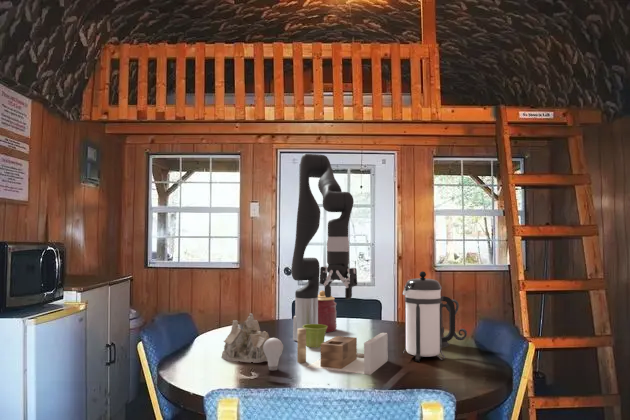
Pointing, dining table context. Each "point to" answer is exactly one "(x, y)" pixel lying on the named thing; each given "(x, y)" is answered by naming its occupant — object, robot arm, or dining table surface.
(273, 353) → the lightbulb
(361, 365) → the l-shaped bookend
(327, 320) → the canister
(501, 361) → the dining table surface
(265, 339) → the ceramic cottage
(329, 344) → the wooden square-hole block
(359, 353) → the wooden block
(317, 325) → the plant pot
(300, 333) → the dowel
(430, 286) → the coffee press
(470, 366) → the dining table surface
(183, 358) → the dining table surface
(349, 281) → the robot arm
